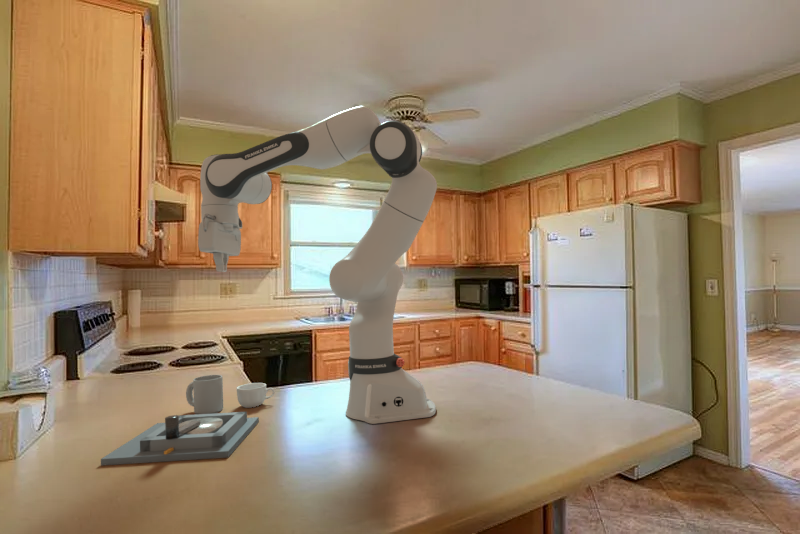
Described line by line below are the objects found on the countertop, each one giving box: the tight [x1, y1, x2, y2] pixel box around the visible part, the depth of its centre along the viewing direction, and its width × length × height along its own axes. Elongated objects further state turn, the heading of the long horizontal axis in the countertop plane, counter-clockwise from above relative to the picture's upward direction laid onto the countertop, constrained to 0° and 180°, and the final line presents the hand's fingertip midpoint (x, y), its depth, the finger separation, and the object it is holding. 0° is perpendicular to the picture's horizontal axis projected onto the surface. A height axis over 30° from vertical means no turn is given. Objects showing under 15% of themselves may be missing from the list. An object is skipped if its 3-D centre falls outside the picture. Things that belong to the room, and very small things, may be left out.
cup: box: [185, 374, 224, 415], centre depth 117 cm, size 7×10×9 cm
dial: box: [164, 414, 223, 440], centre depth 92 cm, size 14×10×6 cm
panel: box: [100, 411, 260, 466], centre depth 94 cm, size 24×21×3 cm
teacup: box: [236, 382, 275, 409], centre depth 120 cm, size 10×8×5 cm
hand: (221, 271), depth 112 cm, fingers closed
